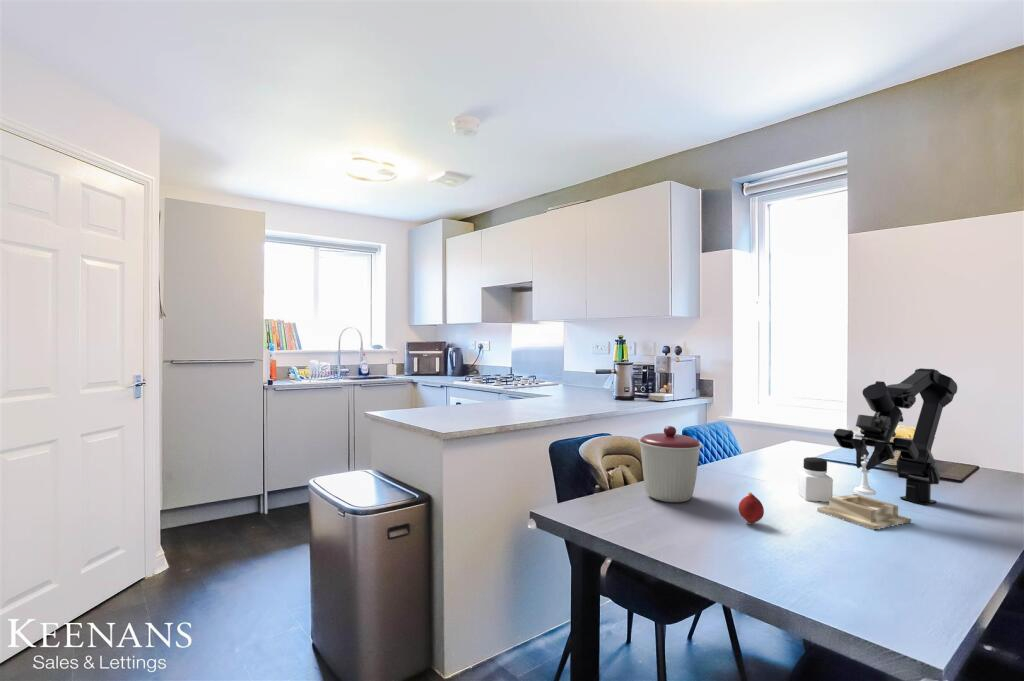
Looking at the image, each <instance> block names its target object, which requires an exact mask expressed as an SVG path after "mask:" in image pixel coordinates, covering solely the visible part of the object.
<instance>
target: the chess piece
mask: <svg viewBox="0 0 1024 681" xmlns="http://www.w3.org/2000/svg"><path fill="white" fill-rule="evenodd" d="M861 459H864V461H861V462H860V463H861V465H862V466H861V469H860V473H862V476H861V484H860V485H859V486H856V487H854V488H853V492H854V493H855V494H858V495H863V496H875V495H877V492H876V490H875V489H873V488H871V486H869V479H868V474H870V473H871V471H870V470H867V469H866V465H867V463H868V461H867V460H869V459H870V457H868V456H867V457H866V455H864V457H861Z"/></svg>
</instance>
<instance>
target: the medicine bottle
mask: <svg viewBox="0 0 1024 681" xmlns="http://www.w3.org/2000/svg"><path fill="white" fill-rule="evenodd" d="M797 473H798V474H797V494H798V495H799V496H800V497H801V498H802V497H803V498H802V499H803V500H804V501H807V502H817V501H821V502H822V503H829V498H833V485H834V484H833V481H834V480H833V478H832V477H830V476H829V475H828V461H827V460H826V459H825V458H822V457H817V456H807V457H805V458H803V470H798V472H797Z"/></svg>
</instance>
